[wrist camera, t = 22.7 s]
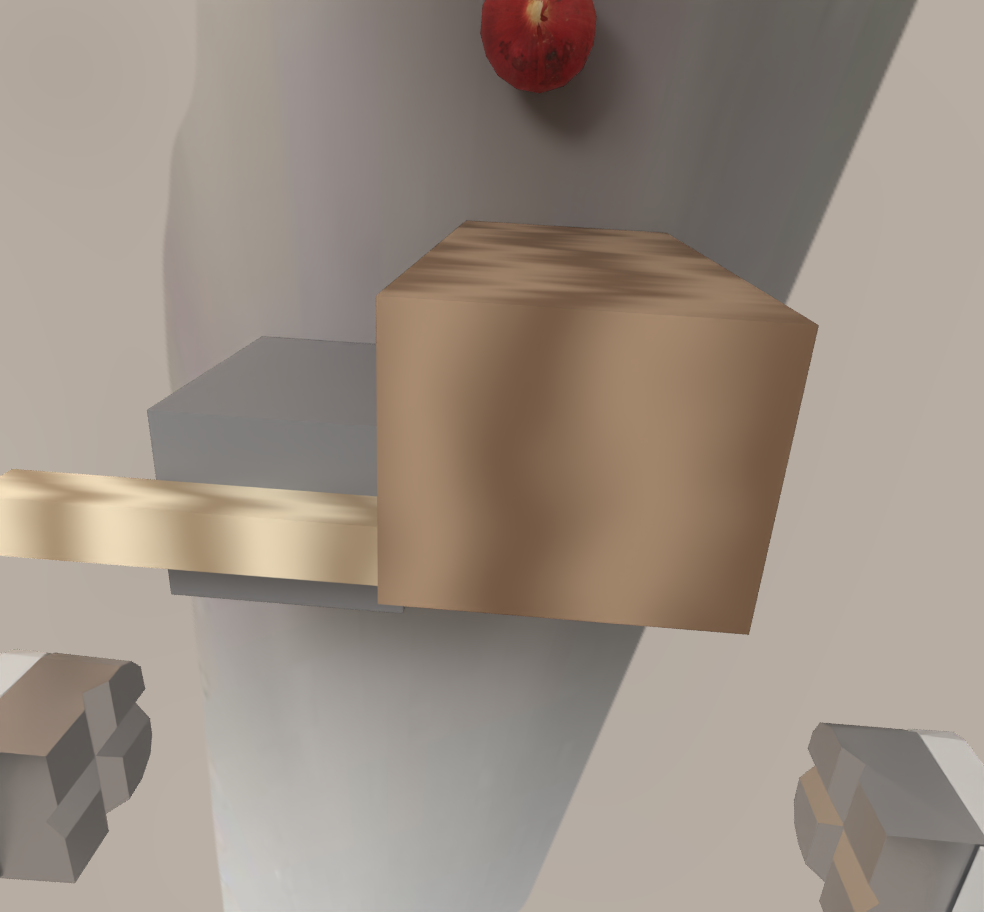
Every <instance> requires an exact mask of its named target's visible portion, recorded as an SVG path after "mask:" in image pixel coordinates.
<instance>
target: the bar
mask: <svg viewBox="0 0 984 912" xmlns="http://www.w3.org/2000/svg"><path fill="white" fill-rule="evenodd" d="M0 556H11V557H24V558H37V559H49V560H61V561H73V562H74V561H75V562H86V563H99V564H112V565H123V566H124V565H125V566H137V567H148V568H162V569H173V570H186V571H198V572H211V573H223V574H236V575H248V576H261V577H273V578H286V579H298V580H311V581H323V582H336V583H348V584H361V585H373V586H378V557H377V496H364V495H351V494H337V493H324V492H311V491H298V490H284V489H271V488H258V487H244V486H231V485H218V484H205V483H191V482H178V481H165V480H151V479H137V478H125V477H110V476H98V475H85V474H71V473H58V472H45V471H32V470H19V469H11V470H10V471H8V472H6V473H5V474H3V475H1V476H0Z"/></svg>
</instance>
